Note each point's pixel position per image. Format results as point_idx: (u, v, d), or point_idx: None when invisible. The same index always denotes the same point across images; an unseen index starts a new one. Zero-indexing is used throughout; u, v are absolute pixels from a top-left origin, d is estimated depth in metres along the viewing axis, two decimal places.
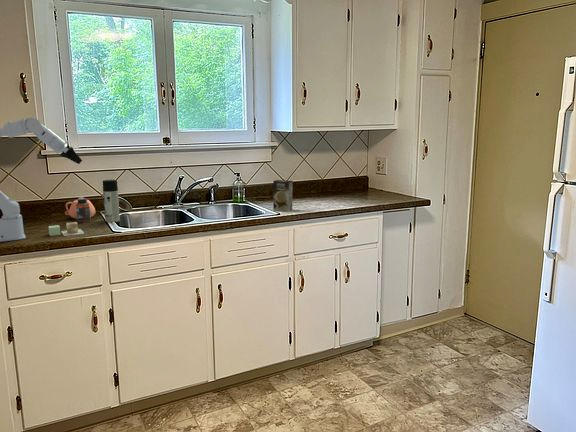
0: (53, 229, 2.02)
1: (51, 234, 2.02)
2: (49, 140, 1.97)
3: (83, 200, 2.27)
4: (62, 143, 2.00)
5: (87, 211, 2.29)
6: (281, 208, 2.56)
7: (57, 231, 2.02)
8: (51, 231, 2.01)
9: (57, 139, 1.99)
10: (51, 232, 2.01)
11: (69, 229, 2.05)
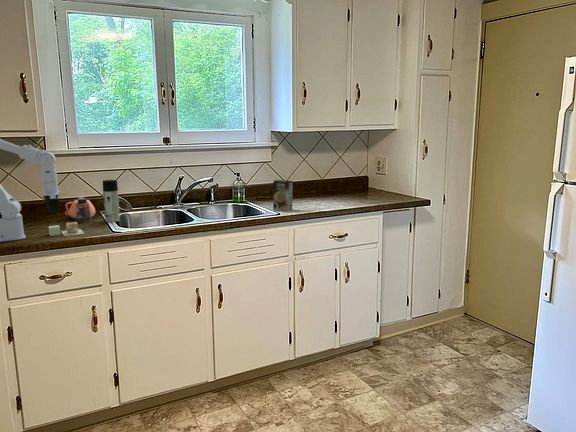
0: (53, 229, 2.02)
1: (51, 234, 2.02)
2: (46, 180, 1.97)
3: (83, 200, 2.27)
4: (55, 190, 1.99)
5: (87, 211, 2.29)
6: (281, 208, 2.56)
7: (57, 231, 2.02)
8: (51, 231, 2.01)
9: (54, 184, 1.99)
10: (51, 232, 2.01)
11: (69, 229, 2.05)
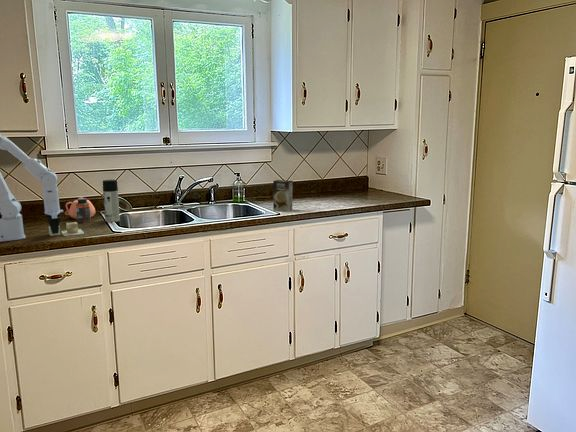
0: None
1: (51, 234, 2.01)
2: (48, 199, 1.98)
3: (83, 200, 2.27)
4: (56, 209, 2.01)
5: (87, 211, 2.29)
6: (281, 208, 2.56)
7: None
8: (51, 231, 2.01)
9: (56, 203, 2.00)
10: (51, 232, 2.01)
11: (69, 229, 2.05)
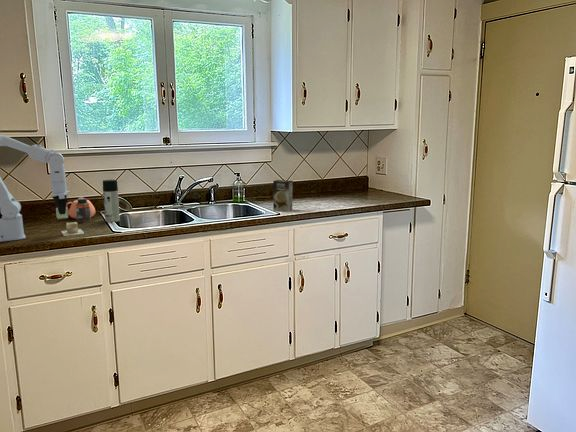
0: None
1: (58, 215, 2.02)
2: (55, 180, 1.98)
3: (83, 200, 2.27)
4: (64, 190, 2.01)
5: (87, 211, 2.29)
6: (281, 208, 2.56)
7: None
8: (58, 212, 2.02)
9: (63, 184, 2.00)
10: (58, 213, 2.02)
11: (69, 229, 2.05)
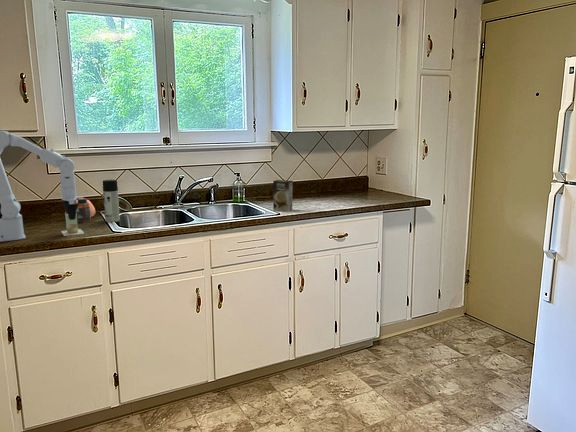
0: None
1: (68, 221, 2.04)
2: (66, 186, 2.01)
3: (83, 200, 2.27)
4: (73, 195, 2.03)
5: (87, 211, 2.29)
6: (281, 208, 2.56)
7: None
8: (68, 218, 2.04)
9: (73, 190, 2.03)
10: (68, 219, 2.04)
11: (69, 229, 2.05)
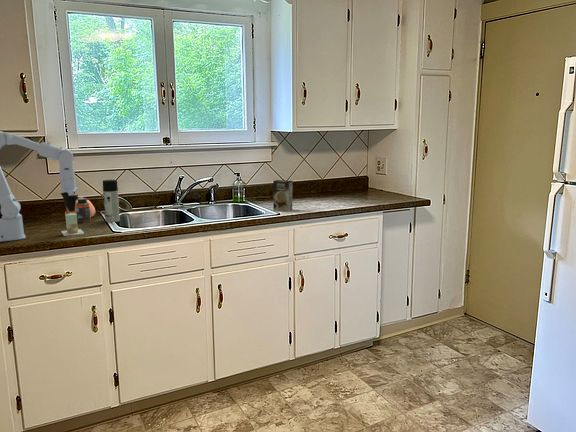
0: (70, 216, 2.04)
1: (68, 221, 2.04)
2: (65, 177, 2.00)
3: (83, 200, 2.27)
4: (73, 187, 2.02)
5: (87, 211, 2.29)
6: (281, 208, 2.56)
7: (73, 219, 2.05)
8: (68, 218, 2.04)
9: (72, 181, 2.02)
10: (68, 219, 2.04)
11: (69, 229, 2.05)
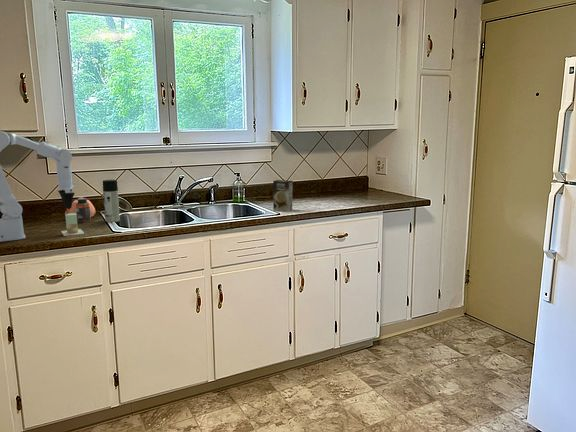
0: (70, 216, 2.04)
1: (68, 221, 2.04)
2: (65, 175, 2.07)
3: (83, 200, 2.27)
4: (69, 185, 2.09)
5: (87, 211, 2.29)
6: (281, 208, 2.56)
7: (73, 219, 2.05)
8: (68, 218, 2.04)
9: (69, 179, 2.09)
10: (68, 219, 2.04)
11: (69, 229, 2.05)
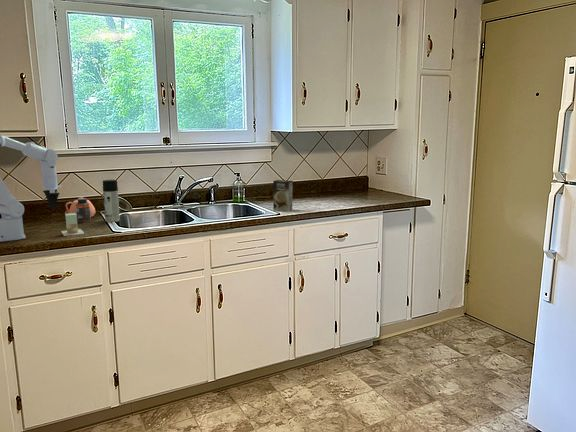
0: (70, 216, 2.04)
1: (68, 221, 2.04)
2: (51, 175, 2.07)
3: (83, 200, 2.27)
4: (54, 185, 2.09)
5: (88, 211, 2.29)
6: (281, 208, 2.56)
7: (73, 219, 2.05)
8: (68, 218, 2.04)
9: (54, 179, 2.08)
10: (68, 219, 2.04)
11: (69, 229, 2.05)
